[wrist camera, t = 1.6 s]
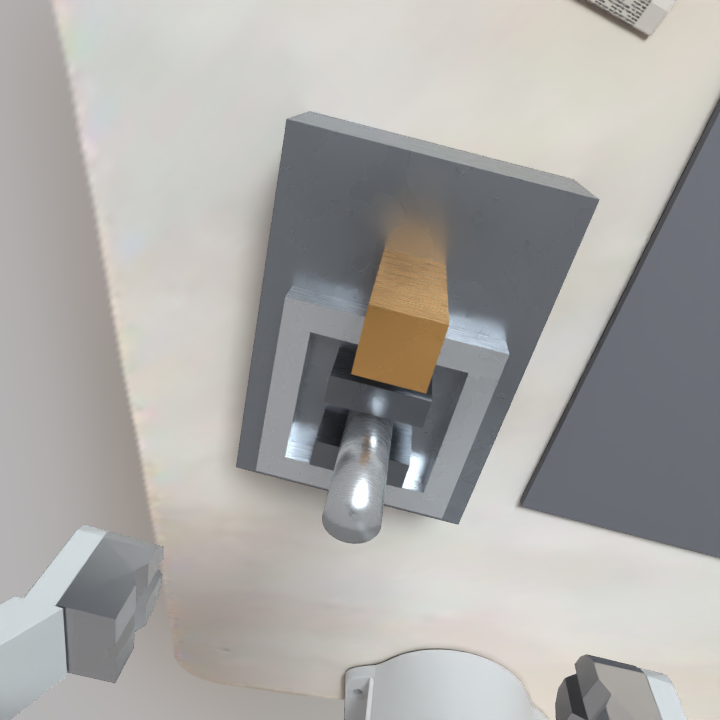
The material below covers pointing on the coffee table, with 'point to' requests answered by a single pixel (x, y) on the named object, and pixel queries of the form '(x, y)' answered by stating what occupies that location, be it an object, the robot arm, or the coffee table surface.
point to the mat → (652, 387)
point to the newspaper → (637, 12)
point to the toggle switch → (356, 281)
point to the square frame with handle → (385, 371)
